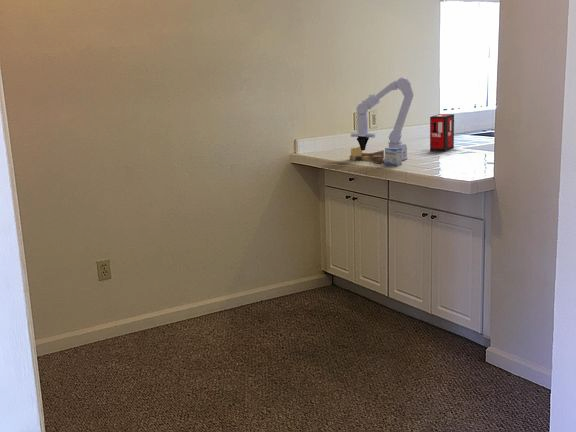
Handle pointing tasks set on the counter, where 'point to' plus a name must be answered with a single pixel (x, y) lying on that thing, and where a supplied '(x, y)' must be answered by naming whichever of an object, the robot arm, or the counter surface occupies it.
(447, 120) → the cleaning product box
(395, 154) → the medicine box
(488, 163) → the counter surface
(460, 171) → the counter surface
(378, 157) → the walnut crate
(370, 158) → the brown wooden drawer
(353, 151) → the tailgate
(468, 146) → the counter surface
